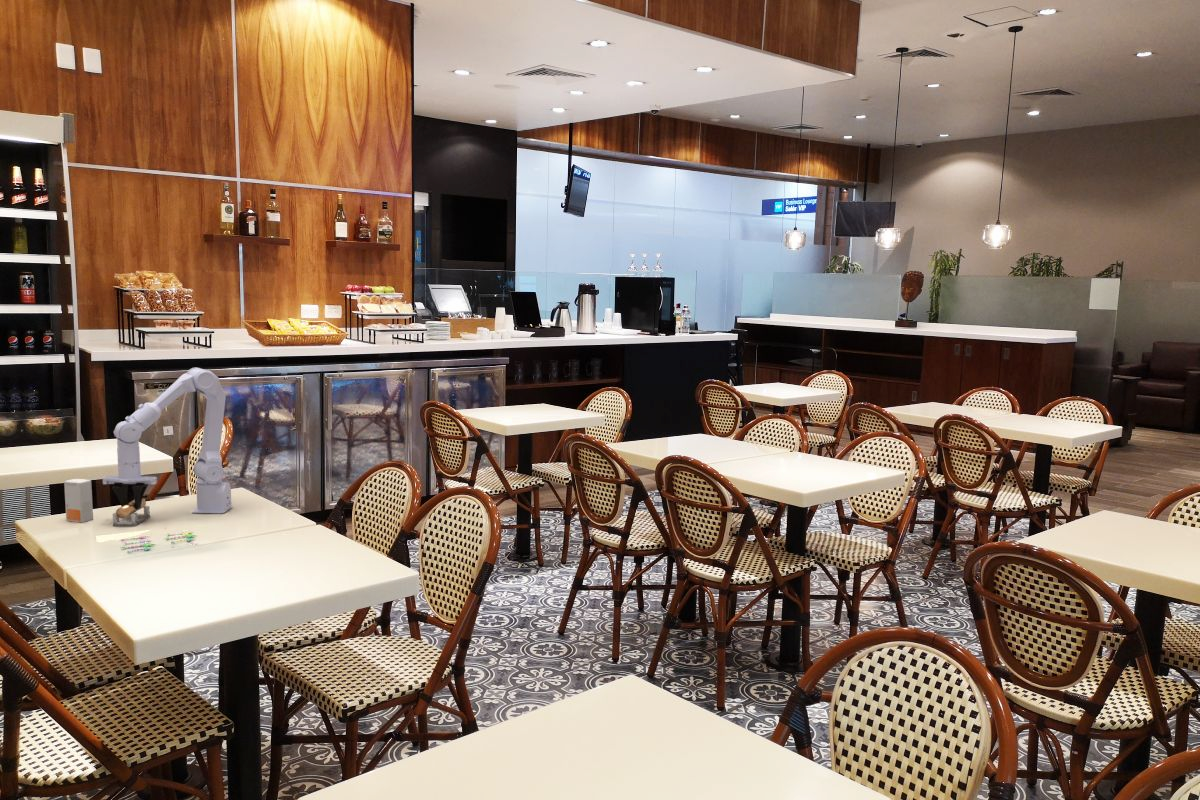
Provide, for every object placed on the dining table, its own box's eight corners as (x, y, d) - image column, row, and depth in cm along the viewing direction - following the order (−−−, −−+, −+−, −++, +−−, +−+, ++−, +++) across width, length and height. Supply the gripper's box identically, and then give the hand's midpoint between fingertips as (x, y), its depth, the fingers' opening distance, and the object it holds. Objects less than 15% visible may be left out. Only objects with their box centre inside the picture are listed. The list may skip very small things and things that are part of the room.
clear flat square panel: (212, 523, 264) (211, 518, 264) (232, 552, 239) (232, 547, 239) (95, 537, 248) (95, 532, 248) (104, 569, 223) (103, 563, 223)
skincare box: (65, 521, 263) (63, 481, 261) (77, 517, 267) (75, 478, 265) (82, 523, 261) (79, 482, 260) (94, 519, 265) (91, 479, 264)
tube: (135, 508, 269) (134, 497, 269) (146, 508, 269) (145, 497, 269) (116, 518, 257) (115, 507, 257) (127, 518, 257) (127, 507, 257)
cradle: (150, 517, 269) (149, 505, 268) (135, 526, 259) (134, 514, 258) (128, 517, 268) (128, 505, 268) (113, 526, 258) (112, 514, 258)
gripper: (96, 465, 257) (98, 511, 259) (148, 465, 258) (150, 511, 259) (108, 460, 264) (110, 505, 266) (159, 460, 265) (161, 505, 266)
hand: (131, 508), depth 263 cm, fingers closed on tube, 3 cm apart
